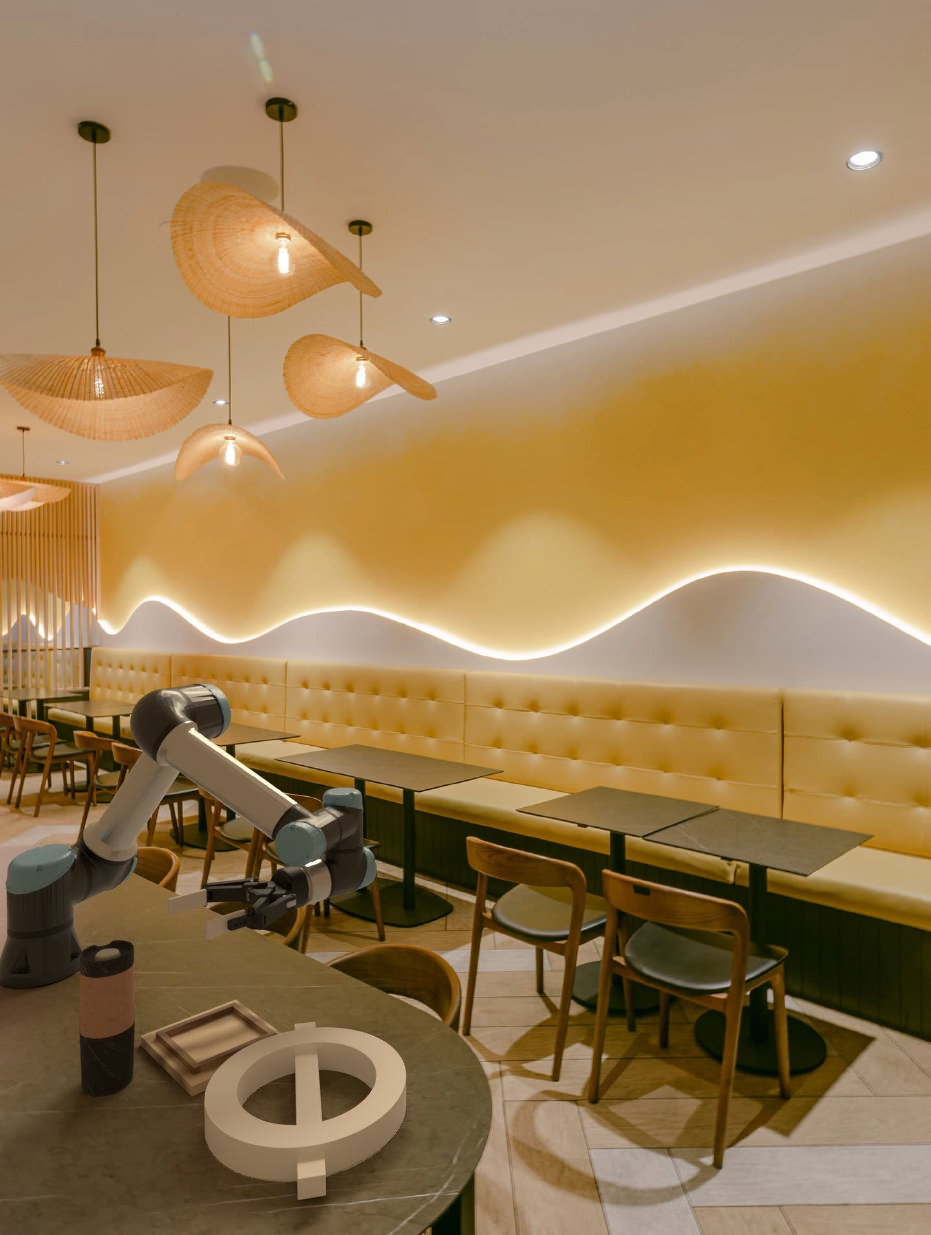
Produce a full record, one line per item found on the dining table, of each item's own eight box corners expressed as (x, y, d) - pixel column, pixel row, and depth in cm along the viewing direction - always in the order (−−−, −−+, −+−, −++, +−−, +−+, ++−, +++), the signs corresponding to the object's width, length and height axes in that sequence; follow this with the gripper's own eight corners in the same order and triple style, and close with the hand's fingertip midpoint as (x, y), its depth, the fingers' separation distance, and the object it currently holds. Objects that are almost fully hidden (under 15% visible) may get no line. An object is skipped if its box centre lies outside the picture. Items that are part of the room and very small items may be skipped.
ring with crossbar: (312, 1218, 92) (312, 1178, 91) (160, 1134, 106) (160, 1099, 106) (443, 1093, 115) (443, 1061, 115) (304, 1038, 130) (304, 1010, 130)
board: (140, 1045, 127) (140, 1029, 127) (235, 1008, 139) (235, 994, 139) (192, 1096, 114) (192, 1079, 114) (292, 1050, 126) (292, 1035, 126)
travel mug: (113, 1100, 113) (113, 963, 113) (67, 1093, 115) (67, 959, 114) (145, 1070, 120) (145, 941, 120) (102, 1064, 122) (101, 937, 122)
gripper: (340, 925, 132) (223, 965, 117) (264, 888, 150) (155, 920, 135) (339, 880, 132) (223, 916, 117) (263, 850, 150) (154, 877, 135)
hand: (186, 918), depth 126 cm, fingers open, 13 cm apart
